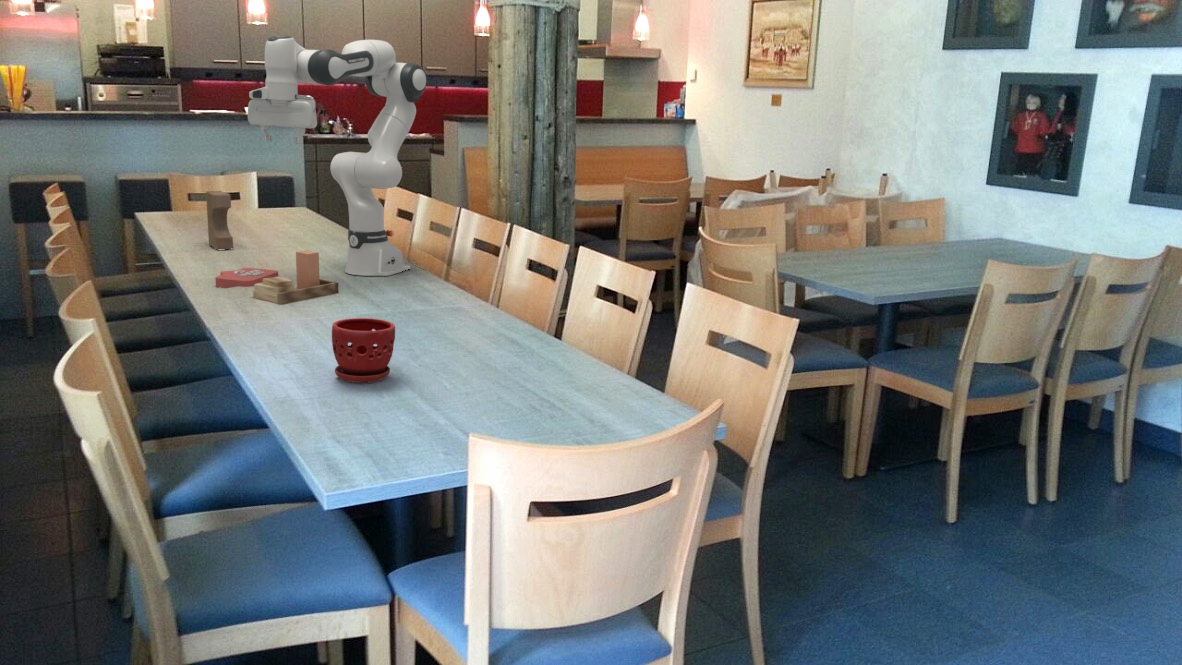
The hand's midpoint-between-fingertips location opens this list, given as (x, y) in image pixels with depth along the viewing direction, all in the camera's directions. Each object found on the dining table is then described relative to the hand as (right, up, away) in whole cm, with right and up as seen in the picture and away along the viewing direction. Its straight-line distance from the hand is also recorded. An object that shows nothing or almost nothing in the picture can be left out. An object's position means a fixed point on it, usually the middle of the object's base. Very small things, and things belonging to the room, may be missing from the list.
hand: (283, 142), depth 273 cm
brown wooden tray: (+5, -46, -4) cm, 46 cm away
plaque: (-17, -41, +13) cm, 46 cm away
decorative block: (-45, -25, +67) cm, 85 cm away
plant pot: (+41, -65, -71) cm, 105 cm away
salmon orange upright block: (+8, -44, 0) cm, 45 cm away
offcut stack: (+1, -46, -9) cm, 47 cm away
